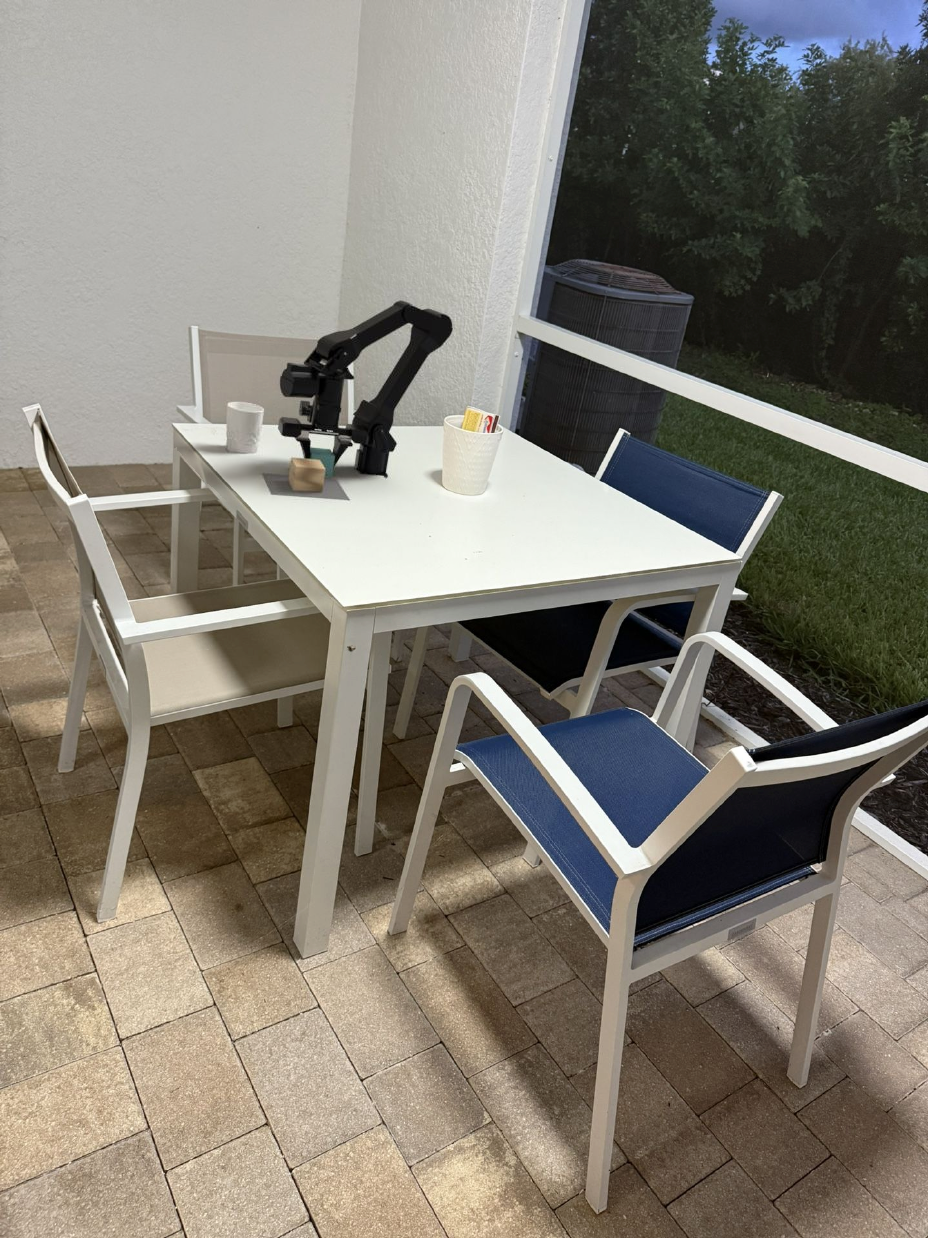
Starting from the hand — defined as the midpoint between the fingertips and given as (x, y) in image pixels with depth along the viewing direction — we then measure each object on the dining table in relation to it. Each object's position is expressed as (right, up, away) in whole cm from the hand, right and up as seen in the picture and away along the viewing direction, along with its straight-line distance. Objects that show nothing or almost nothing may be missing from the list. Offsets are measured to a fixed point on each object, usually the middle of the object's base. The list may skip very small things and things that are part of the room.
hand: (318, 468), depth 200 cm
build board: (-1, -6, -11) cm, 12 cm away
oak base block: (-1, -5, -11) cm, 12 cm away
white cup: (-18, +5, +5) cm, 19 cm away
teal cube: (0, -1, 0) cm, 1 cm away
